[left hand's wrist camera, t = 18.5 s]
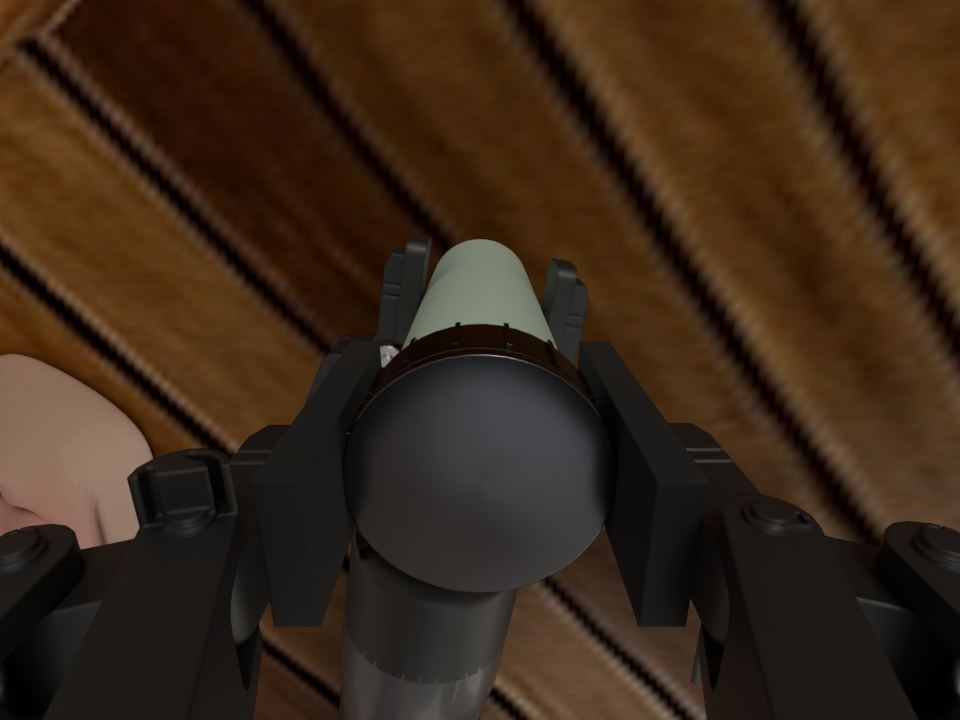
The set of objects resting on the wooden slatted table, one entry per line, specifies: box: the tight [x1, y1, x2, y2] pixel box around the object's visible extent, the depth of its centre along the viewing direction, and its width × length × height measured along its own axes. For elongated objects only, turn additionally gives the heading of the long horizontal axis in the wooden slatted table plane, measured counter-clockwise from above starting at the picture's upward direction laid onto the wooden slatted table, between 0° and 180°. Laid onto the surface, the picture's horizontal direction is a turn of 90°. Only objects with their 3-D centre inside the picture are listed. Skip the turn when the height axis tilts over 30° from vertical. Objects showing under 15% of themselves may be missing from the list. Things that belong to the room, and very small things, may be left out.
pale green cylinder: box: [401, 239, 558, 351], centre depth 19 cm, size 5×5×16 cm
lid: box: [342, 322, 617, 592], centre depth 11 cm, size 5×5×2 cm
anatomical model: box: [0, 354, 153, 549], centre depth 28 cm, size 13×4×12 cm
